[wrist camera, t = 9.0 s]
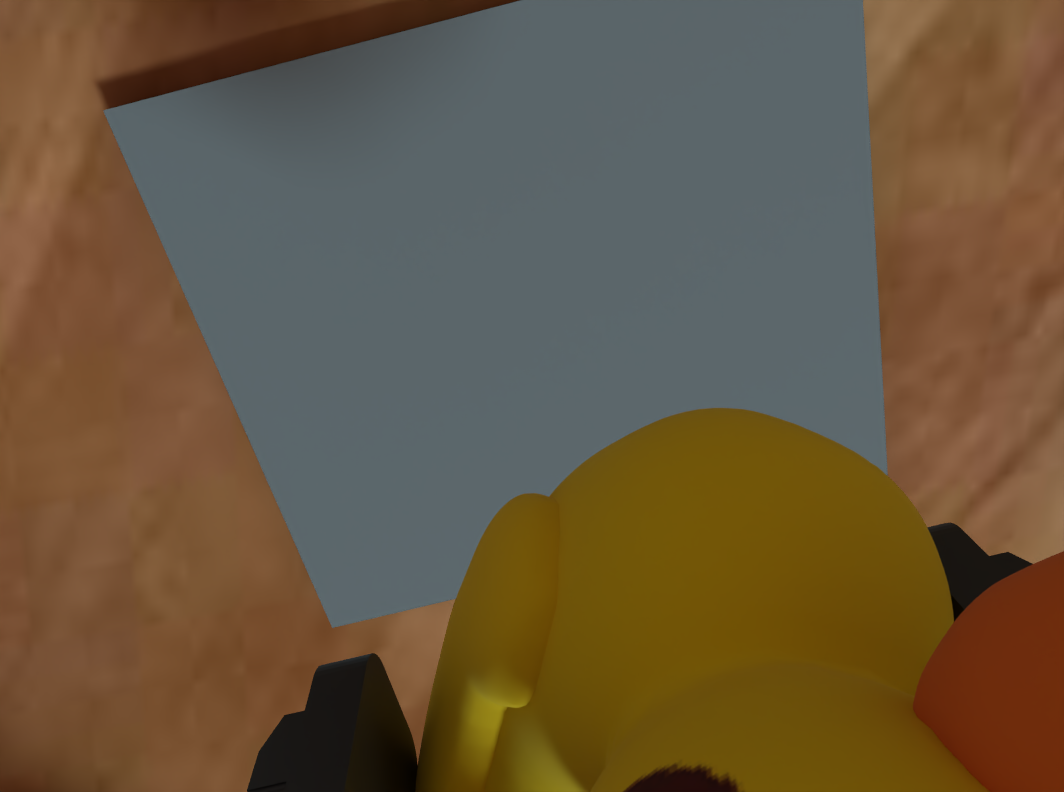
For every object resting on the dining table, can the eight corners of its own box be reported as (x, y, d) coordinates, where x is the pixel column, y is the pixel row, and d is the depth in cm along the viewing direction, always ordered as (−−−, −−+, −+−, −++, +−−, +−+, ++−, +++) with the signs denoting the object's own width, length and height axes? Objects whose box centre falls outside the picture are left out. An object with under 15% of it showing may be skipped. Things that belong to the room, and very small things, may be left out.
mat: (335, 615, 25) (332, 628, 25) (114, 108, 19) (103, 110, 18) (879, 486, 25) (888, 496, 24) (846, -85, 18) (858, -90, 18)
